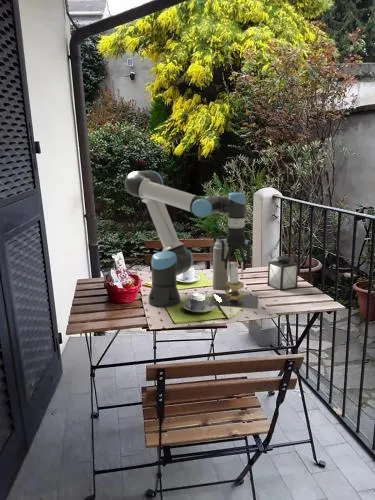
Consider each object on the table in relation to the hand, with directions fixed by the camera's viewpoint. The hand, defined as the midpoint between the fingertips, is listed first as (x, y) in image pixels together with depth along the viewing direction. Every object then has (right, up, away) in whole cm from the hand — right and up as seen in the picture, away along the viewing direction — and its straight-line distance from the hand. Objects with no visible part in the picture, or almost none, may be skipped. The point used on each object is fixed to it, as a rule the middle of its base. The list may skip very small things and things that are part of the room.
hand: (234, 276), depth 192 cm
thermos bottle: (-5, -8, +25) cm, 27 cm away
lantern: (+29, -8, +28) cm, 41 cm away
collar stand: (0, -13, +3) cm, 13 cm away
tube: (0, -11, +2) cm, 12 cm away
